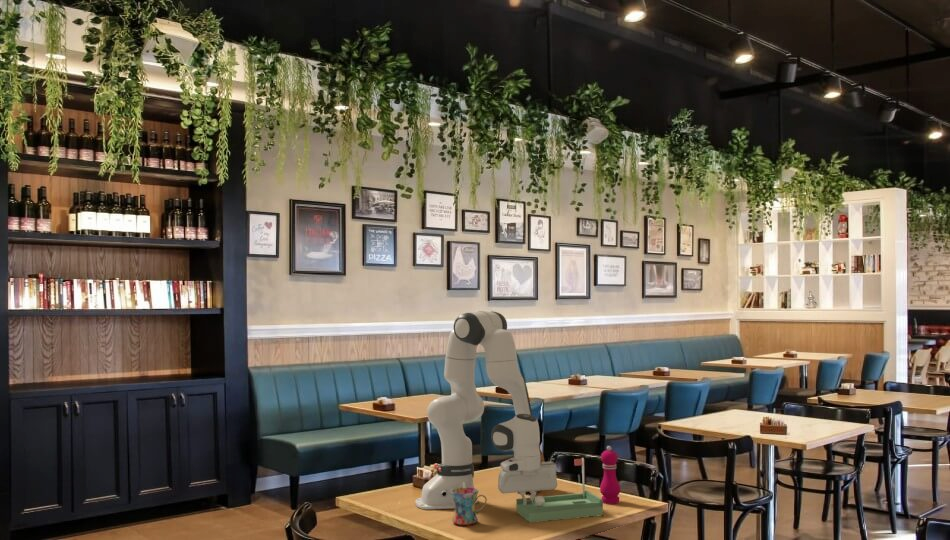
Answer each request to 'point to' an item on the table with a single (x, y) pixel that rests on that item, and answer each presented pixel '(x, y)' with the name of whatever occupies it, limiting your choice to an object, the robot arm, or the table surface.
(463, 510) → the mug
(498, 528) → the table surface
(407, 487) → the table surface
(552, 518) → the green
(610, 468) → the pepper mill
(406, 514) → the table surface
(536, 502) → the ball
